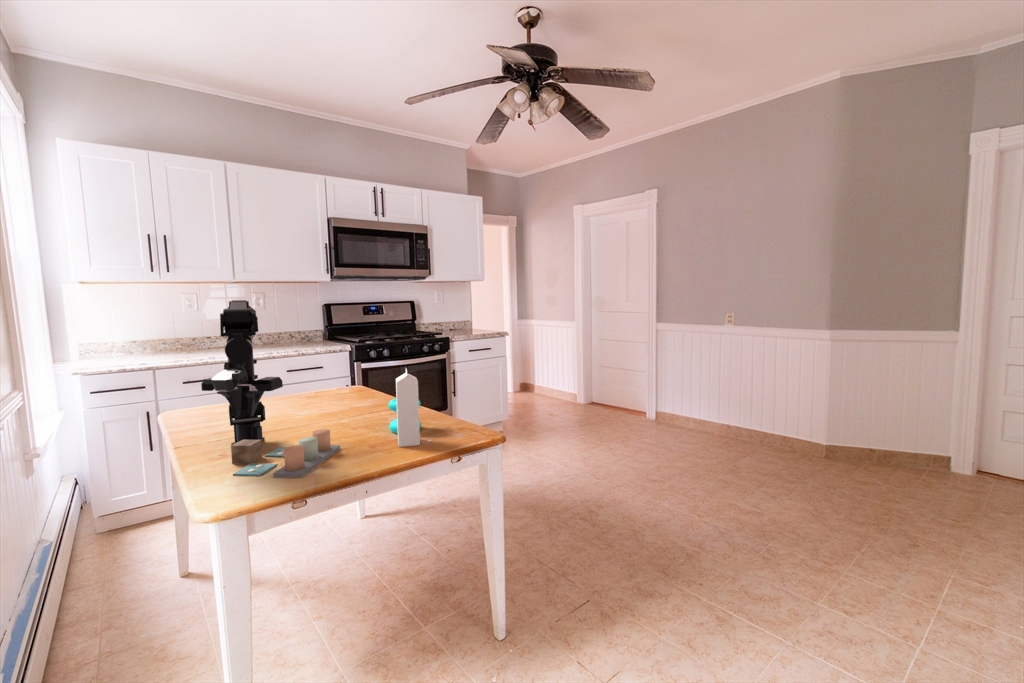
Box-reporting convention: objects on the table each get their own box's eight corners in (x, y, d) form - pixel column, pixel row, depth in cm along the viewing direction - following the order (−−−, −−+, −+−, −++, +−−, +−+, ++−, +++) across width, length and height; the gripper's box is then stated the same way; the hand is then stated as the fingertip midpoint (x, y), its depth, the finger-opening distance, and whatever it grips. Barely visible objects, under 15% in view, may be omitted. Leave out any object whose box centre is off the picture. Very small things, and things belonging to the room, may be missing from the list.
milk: (398, 447, 133) (395, 371, 130) (397, 441, 138) (394, 367, 136) (420, 445, 134) (417, 369, 132) (418, 438, 140) (415, 366, 138)
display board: (273, 477, 111) (271, 452, 111) (316, 448, 132) (315, 427, 132) (301, 477, 111) (299, 453, 110) (340, 448, 132) (339, 428, 131)
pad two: (232, 475, 113) (232, 472, 113) (251, 464, 120) (251, 462, 120) (260, 476, 112) (260, 473, 112) (277, 465, 119) (277, 463, 119)
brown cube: (232, 464, 121) (230, 445, 120) (244, 457, 126) (243, 439, 125) (250, 464, 120) (249, 445, 120) (262, 457, 125) (261, 439, 125)
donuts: (415, 403, 143) (383, 403, 144) (416, 435, 144) (384, 434, 145) (424, 396, 153) (394, 396, 154) (424, 425, 154) (395, 425, 155)
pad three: (265, 456, 126) (265, 454, 126) (280, 448, 133) (279, 446, 133) (290, 457, 125) (290, 455, 125) (303, 448, 132) (303, 446, 132)
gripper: (182, 361, 113) (187, 424, 114) (255, 361, 111) (259, 425, 113) (214, 355, 124) (219, 412, 125) (282, 355, 122) (285, 413, 124)
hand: (244, 416), depth 122 cm, fingers open, 3 cm apart
